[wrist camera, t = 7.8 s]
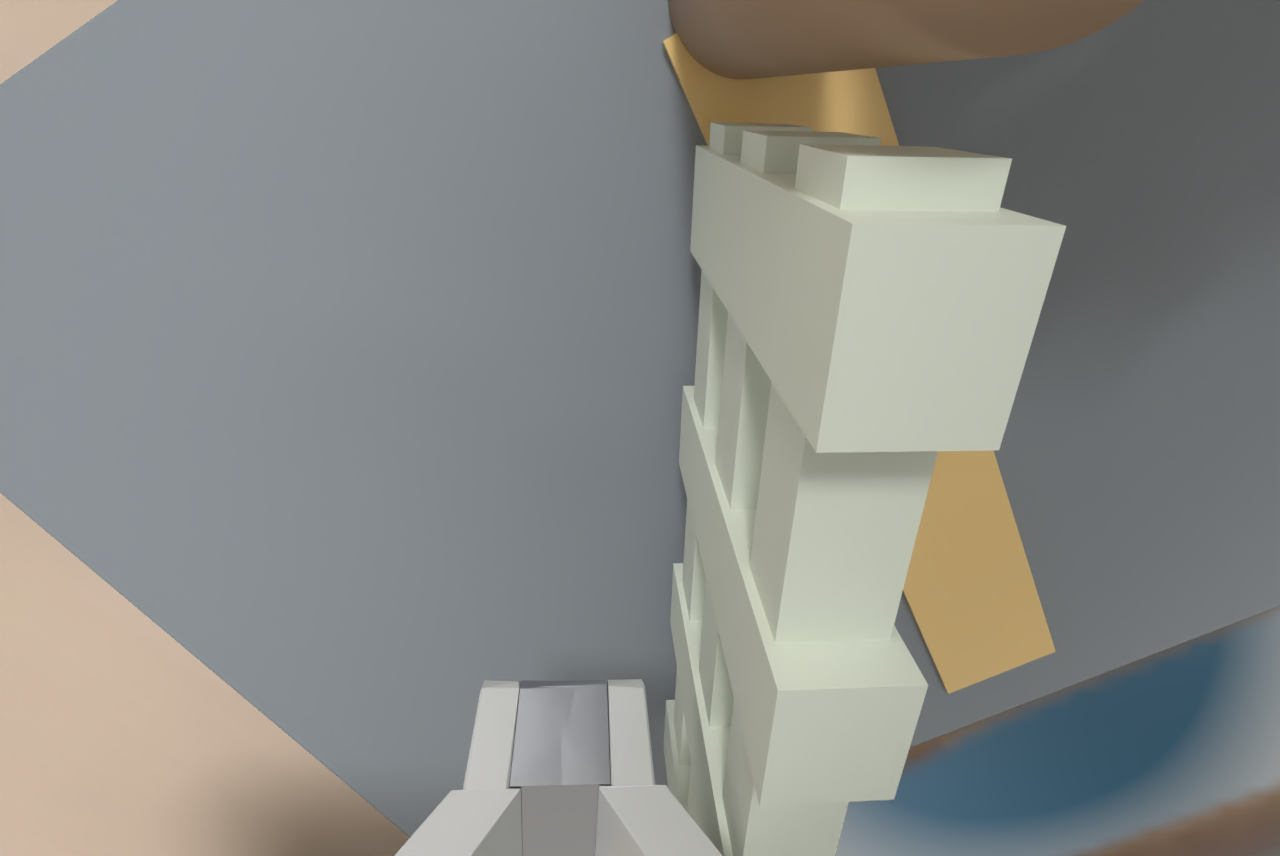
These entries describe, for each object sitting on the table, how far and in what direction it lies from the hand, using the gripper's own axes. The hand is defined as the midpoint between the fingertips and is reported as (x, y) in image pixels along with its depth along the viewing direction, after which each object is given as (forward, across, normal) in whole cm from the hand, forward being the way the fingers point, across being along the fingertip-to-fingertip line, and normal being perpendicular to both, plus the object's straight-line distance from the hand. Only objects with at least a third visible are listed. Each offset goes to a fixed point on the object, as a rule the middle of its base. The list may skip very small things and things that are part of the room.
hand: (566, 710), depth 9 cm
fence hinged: (+3, -2, -2) cm, 4 cm away
